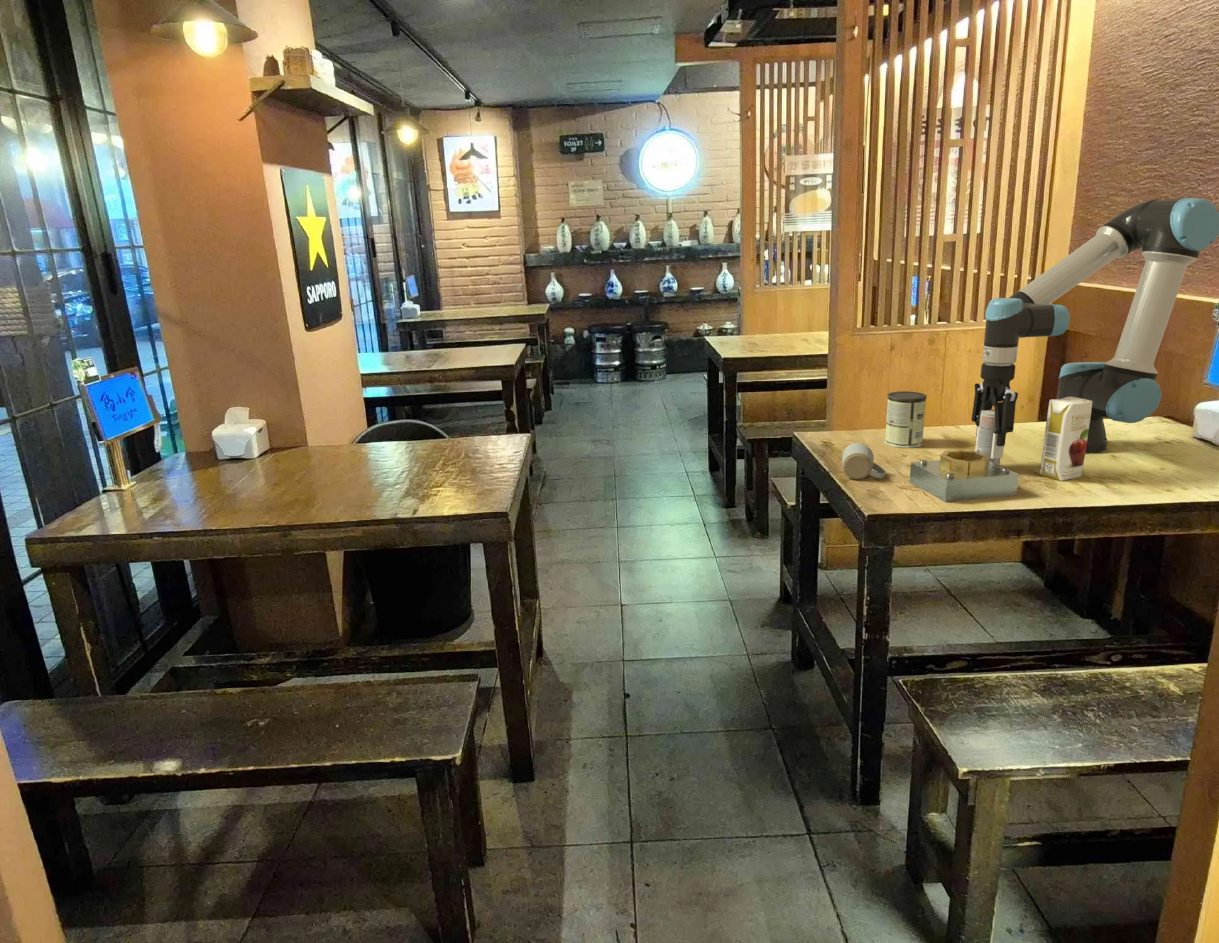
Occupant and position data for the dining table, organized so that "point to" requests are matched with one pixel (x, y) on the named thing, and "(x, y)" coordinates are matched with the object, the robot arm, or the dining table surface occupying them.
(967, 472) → the metal socket fixture
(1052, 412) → the juice carton
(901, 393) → the coffee can
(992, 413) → the beverage can
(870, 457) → the ceramic mug
